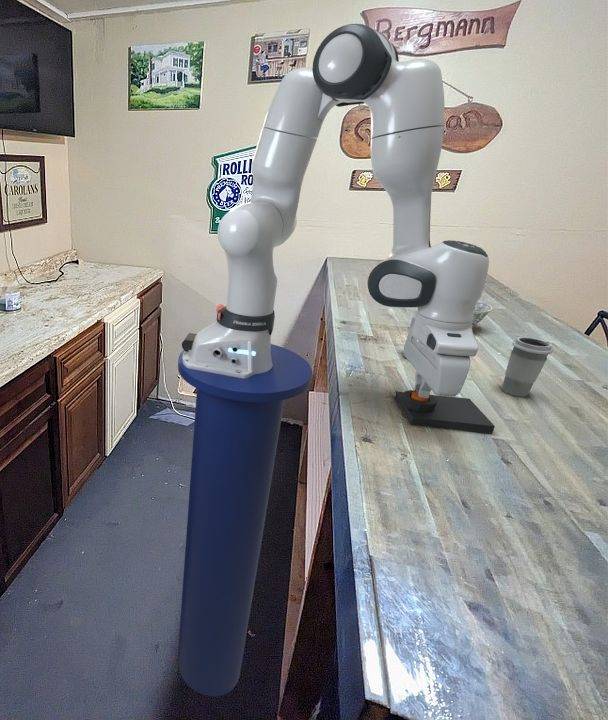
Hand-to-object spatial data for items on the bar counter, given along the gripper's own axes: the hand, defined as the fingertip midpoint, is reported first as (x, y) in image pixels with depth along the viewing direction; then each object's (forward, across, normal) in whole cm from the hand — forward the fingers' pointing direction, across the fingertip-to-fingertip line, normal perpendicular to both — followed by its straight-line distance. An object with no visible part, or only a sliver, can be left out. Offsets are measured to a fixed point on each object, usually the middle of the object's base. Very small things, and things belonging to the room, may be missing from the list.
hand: (420, 394), depth 92 cm
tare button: (+2, 0, 0) cm, 2 cm away
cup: (+4, -15, +24) cm, 29 cm away
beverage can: (+4, -31, +10) cm, 33 cm away
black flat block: (+4, 0, +4) cm, 6 cm away
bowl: (+4, -60, +28) cm, 67 cm away
